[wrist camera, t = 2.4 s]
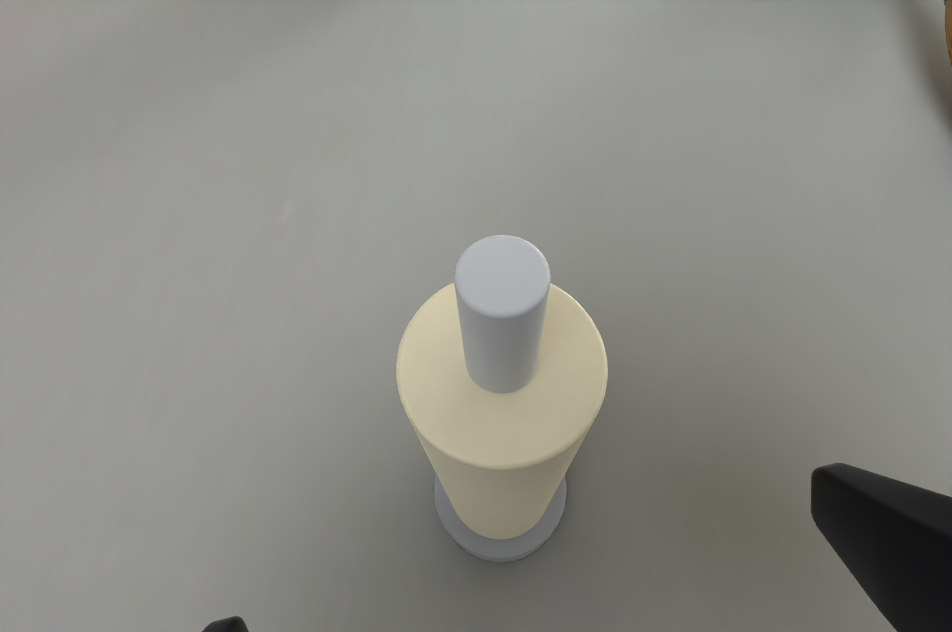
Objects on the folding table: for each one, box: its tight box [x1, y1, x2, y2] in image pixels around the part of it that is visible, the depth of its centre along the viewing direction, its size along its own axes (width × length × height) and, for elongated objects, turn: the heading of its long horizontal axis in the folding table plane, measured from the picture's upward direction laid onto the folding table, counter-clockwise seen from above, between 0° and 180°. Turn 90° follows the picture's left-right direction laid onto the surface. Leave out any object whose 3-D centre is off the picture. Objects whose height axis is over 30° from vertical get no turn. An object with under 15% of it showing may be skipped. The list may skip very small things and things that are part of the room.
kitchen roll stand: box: [396, 235, 608, 562], centre depth 12 cm, size 4×4×14 cm
